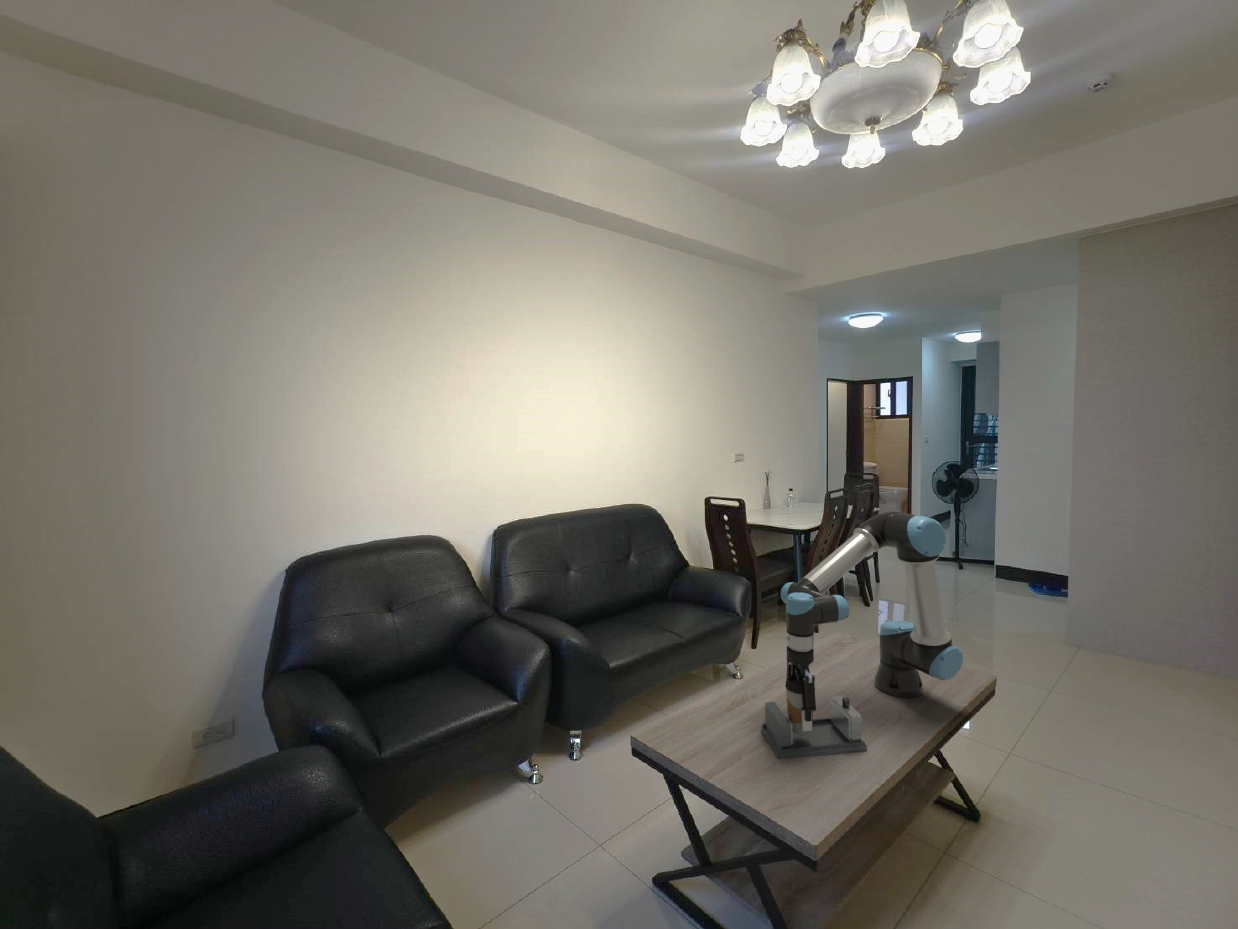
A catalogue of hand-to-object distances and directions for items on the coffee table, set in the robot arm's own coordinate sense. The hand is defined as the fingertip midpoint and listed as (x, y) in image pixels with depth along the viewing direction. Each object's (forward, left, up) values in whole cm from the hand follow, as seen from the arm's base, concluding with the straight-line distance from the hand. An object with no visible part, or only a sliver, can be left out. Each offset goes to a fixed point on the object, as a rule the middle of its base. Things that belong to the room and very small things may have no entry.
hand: (800, 722), depth 158 cm
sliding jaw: (-14, 0, -4) cm, 14 cm away
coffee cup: (0, 0, -2) cm, 2 cm away
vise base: (-4, 0, -6) cm, 7 cm away
